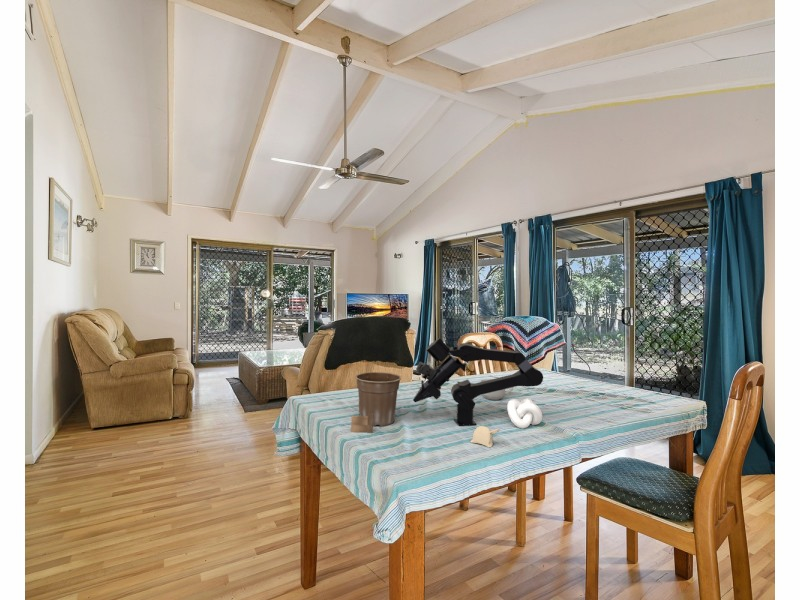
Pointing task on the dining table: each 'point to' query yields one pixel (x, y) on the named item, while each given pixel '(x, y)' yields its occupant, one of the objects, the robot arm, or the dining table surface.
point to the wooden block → (362, 423)
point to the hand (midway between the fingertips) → (413, 401)
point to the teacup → (495, 393)
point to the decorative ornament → (483, 436)
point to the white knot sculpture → (524, 412)
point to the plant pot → (378, 396)
